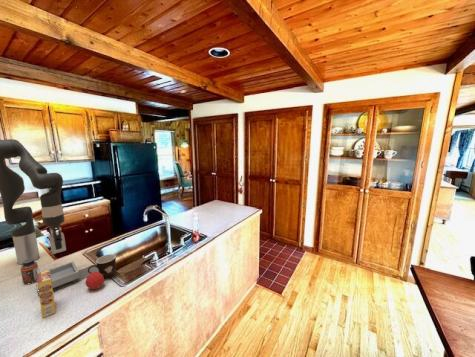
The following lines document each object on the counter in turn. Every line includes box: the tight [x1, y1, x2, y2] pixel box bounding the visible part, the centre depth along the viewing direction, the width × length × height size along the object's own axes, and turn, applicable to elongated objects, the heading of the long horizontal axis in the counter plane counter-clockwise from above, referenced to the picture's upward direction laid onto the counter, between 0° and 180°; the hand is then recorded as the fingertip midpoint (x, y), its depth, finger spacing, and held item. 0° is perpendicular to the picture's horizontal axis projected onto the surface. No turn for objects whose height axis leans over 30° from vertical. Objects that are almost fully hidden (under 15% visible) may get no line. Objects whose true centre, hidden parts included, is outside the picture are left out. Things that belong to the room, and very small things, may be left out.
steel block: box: [48, 231, 67, 255], centre depth 97 cm, size 5×5×8 cm
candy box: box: [36, 269, 56, 319], centre depth 81 cm, size 9×4×15 cm, turn 47°
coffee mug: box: [88, 253, 117, 281], centre depth 102 cm, size 12×9×10 cm
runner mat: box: [36, 263, 99, 298], centre depth 102 cm, size 11×26×1 cm, turn 138°
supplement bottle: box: [20, 259, 39, 285], centre depth 99 cm, size 6×6×11 cm
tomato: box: [84, 272, 105, 290], centre depth 95 cm, size 8×8×8 cm
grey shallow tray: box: [37, 261, 80, 288], centre depth 98 cm, size 14×14×8 cm
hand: (58, 246), depth 97 cm, fingers closed on steel block, 5 cm apart
